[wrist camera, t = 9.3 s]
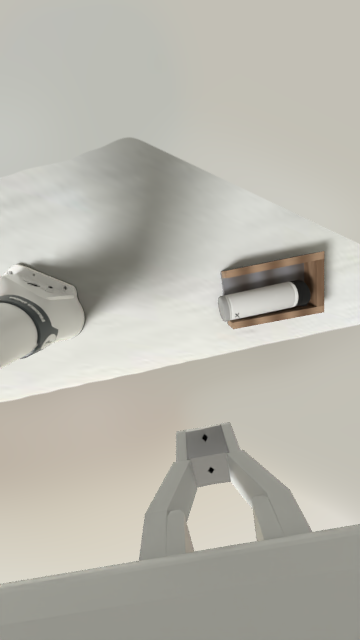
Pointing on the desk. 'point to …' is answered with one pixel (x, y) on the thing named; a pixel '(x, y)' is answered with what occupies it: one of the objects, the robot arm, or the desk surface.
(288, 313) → the u rest
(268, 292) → the travel mug
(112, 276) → the desk surface
